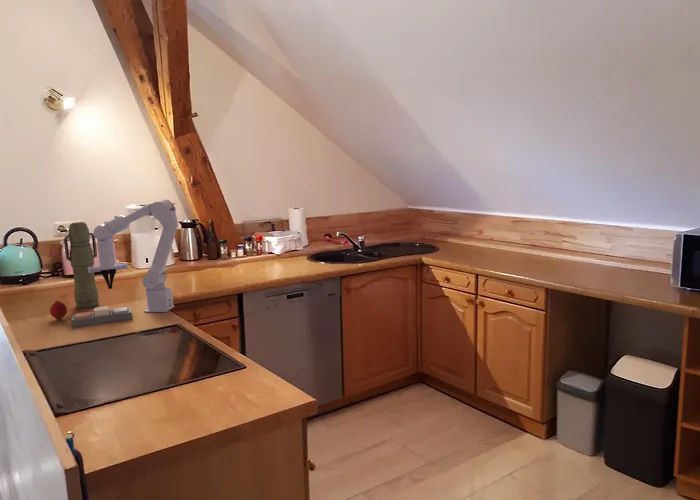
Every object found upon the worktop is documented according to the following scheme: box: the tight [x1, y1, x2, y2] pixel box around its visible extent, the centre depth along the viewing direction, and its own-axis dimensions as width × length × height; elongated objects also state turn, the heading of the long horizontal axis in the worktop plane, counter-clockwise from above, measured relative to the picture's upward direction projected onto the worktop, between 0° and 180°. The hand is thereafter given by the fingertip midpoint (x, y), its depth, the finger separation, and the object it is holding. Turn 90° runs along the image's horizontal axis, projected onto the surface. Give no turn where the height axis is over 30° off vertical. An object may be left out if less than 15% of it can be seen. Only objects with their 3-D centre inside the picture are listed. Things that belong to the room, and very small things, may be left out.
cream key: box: [93, 305, 110, 316], centre depth 216 cm, size 5×5×3 cm
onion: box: [49, 299, 68, 321], centre depth 220 cm, size 6×6×8 cm
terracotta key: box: [74, 311, 92, 319], centre depth 213 cm, size 5×5×3 cm
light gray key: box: [112, 306, 128, 314], centre depth 218 cm, size 5×5×3 cm
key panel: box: [70, 307, 133, 329], centre depth 216 cm, size 21×8×3 cm, turn 113°
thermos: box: [63, 221, 99, 309], centre depth 237 cm, size 9×12×35 cm
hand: (110, 288), depth 229 cm, fingers closed
